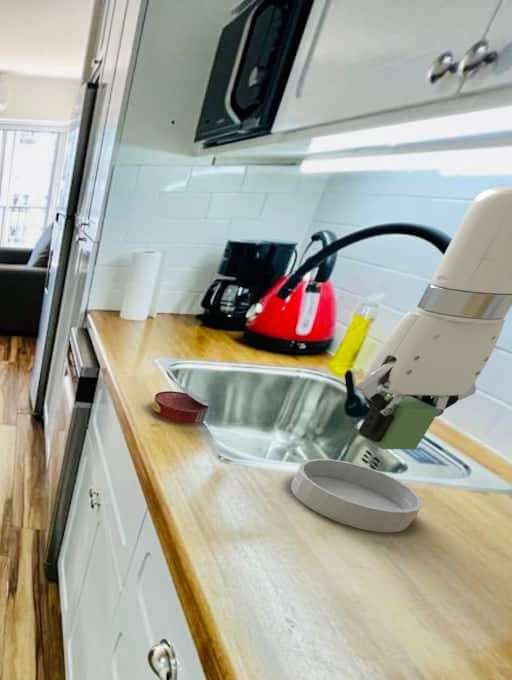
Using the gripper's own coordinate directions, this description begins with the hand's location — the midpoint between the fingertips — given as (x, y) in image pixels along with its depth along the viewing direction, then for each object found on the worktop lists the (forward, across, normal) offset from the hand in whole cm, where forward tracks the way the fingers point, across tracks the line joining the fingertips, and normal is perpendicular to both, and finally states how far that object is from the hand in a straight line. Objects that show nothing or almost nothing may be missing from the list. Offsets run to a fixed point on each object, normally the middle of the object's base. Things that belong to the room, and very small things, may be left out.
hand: (388, 436), depth 66 cm
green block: (+1, 0, 0) cm, 1 cm away
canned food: (+11, +13, -30) cm, 34 cm away
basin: (+11, +1, 0) cm, 11 cm away
